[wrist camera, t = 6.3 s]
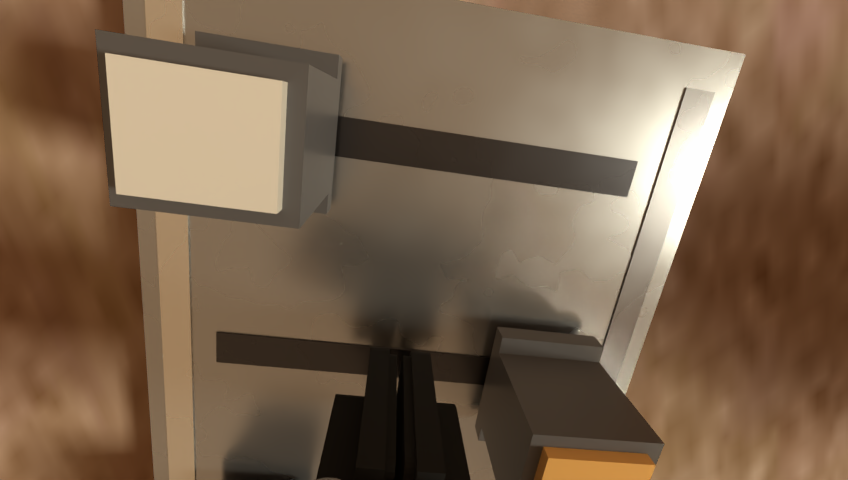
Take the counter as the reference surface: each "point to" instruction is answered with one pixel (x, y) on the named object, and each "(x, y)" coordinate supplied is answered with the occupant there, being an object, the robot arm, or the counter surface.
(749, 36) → the counter surface
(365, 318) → the panel
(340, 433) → the robot arm
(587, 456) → the block
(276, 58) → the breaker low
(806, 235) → the counter surface
